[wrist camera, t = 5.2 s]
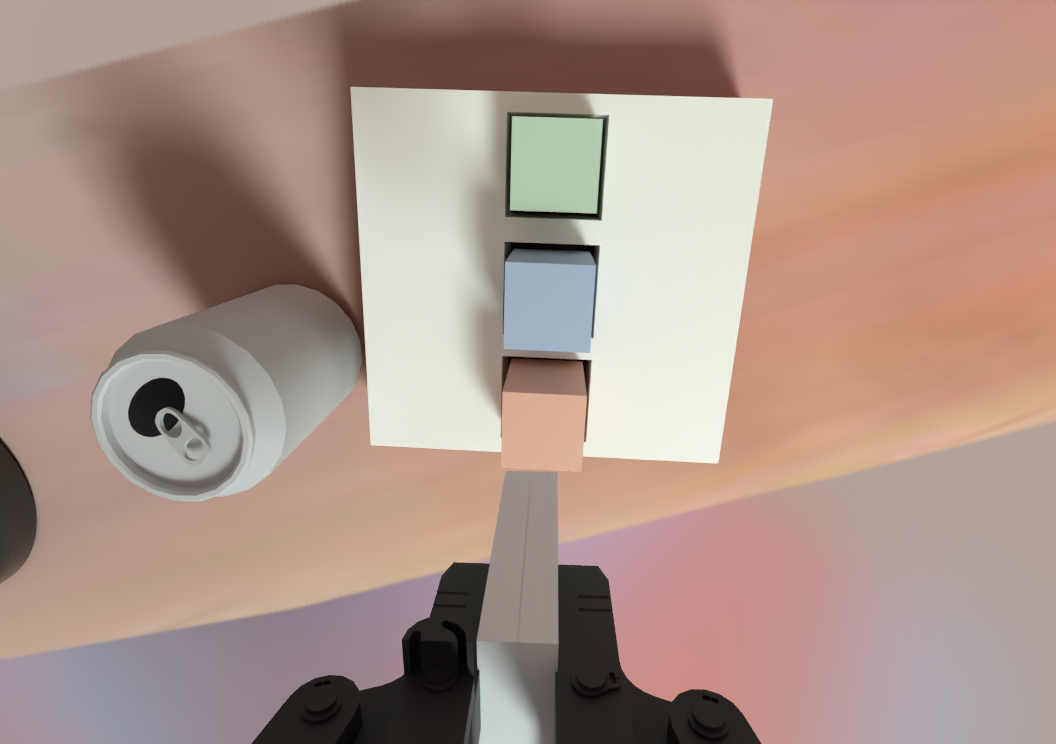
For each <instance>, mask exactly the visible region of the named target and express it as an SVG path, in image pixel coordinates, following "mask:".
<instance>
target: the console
mask: <svg viewBox="0 0 1056 744" xmlns="http://www.w3.org/2000/svg"><path fill="white" fill-rule="evenodd" d="M350 88H351V105H352V123H353V140H354V158H355V175H356V193H357V210H358V228H359V245H360V263H361V280H362V298H363V315H364V333H365V350H366V368H367V385H368V403H369V420H370V438H371V445H378V446H397V447H416V448H435V449H454V450H473V451H492V452H501V443H502V394H503V388H504V385H505V381H506V377H507V374H508V356H514V357H536V358H557V359H579V360H587V361H586V375H585V385H586V392H587V403H586V418H585V432H584V447H583V456H588V457H607V458H626V459H645V460H664V461H683V462H702V463H718V461H719V455H720V448H721V441H722V435H723V428H724V421H725V415H726V408H727V402H728V395H729V388H730V382H731V375H732V368H733V362H734V355H735V349H736V342H737V335H738V329H739V322H740V315H741V309H742V302H743V296H744V289H745V282H746V276H747V269H748V262H749V256H750V249H751V243H752V236H753V229H754V223H755V216H756V210H757V203H758V196H759V190H760V183H761V176H762V170H763V163H764V157H765V150H766V143H767V137H768V130H769V123H770V117H771V110H772V104H773V99H757V98H722V97H688V96H653V95H618V94H583V93H548V92H514V91H479V90H444V89H409V88H375V87H350ZM512 116H522V117H554V118H587V119H603V127H602V142H601V157H600V172H599V186H598V201H597V214H596V216H580V215H553V214H525V213H512V210H510V184H511V139H512ZM511 242H525V243H550V244H576V245H594V257H593V260H594V262H595V264H596V274H595V288H594V303H593V317H592V331H591V346H590V353H579V352H558V351H536V350H514V349H503V346H504V297H505V261H506V260H507V259H508V257H509V256H510V254H511Z"/></svg>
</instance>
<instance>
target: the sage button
mask: <svg viewBox="0 0 1056 744" xmlns="http://www.w3.org/2000/svg"><path fill="white" fill-rule="evenodd" d="M602 127H603V119H587V118H554V117H522V116H512V139H511V184H510V210H514V211H541V212H568V213H596V214H597V201H598V186H599V172H600V157H601V142H602Z"/></svg>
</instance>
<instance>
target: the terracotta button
mask: <svg viewBox="0 0 1056 744" xmlns="http://www.w3.org/2000/svg"><path fill="white" fill-rule="evenodd" d="M586 403H587V392H586V385H585V377H584V370H583V362H581V361H559V360H538V359H516V358H512V359H511V362H510V366H509V370H508V374H507V377H506V381H505V385H504V388H503V394H502V443H501V468H519V469H538V470H556V471H575V472H582V461H583V447H584V432H585V418H586Z"/></svg>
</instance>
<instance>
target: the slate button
mask: <svg viewBox="0 0 1056 744" xmlns="http://www.w3.org/2000/svg"><path fill="white" fill-rule="evenodd" d="M595 274H596V264H595V262H594V260H593V258H592V256H591V253H590V252H589V251H563V250H538V249H514V250H513V251H512V253H511V254H510V256H509V257H508V259H507V260H506V261H505V297H504V346H503V349H514V350H536V351H558V352H579V353H590V346H591V331H592V317H593V303H594V288H595Z"/></svg>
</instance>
